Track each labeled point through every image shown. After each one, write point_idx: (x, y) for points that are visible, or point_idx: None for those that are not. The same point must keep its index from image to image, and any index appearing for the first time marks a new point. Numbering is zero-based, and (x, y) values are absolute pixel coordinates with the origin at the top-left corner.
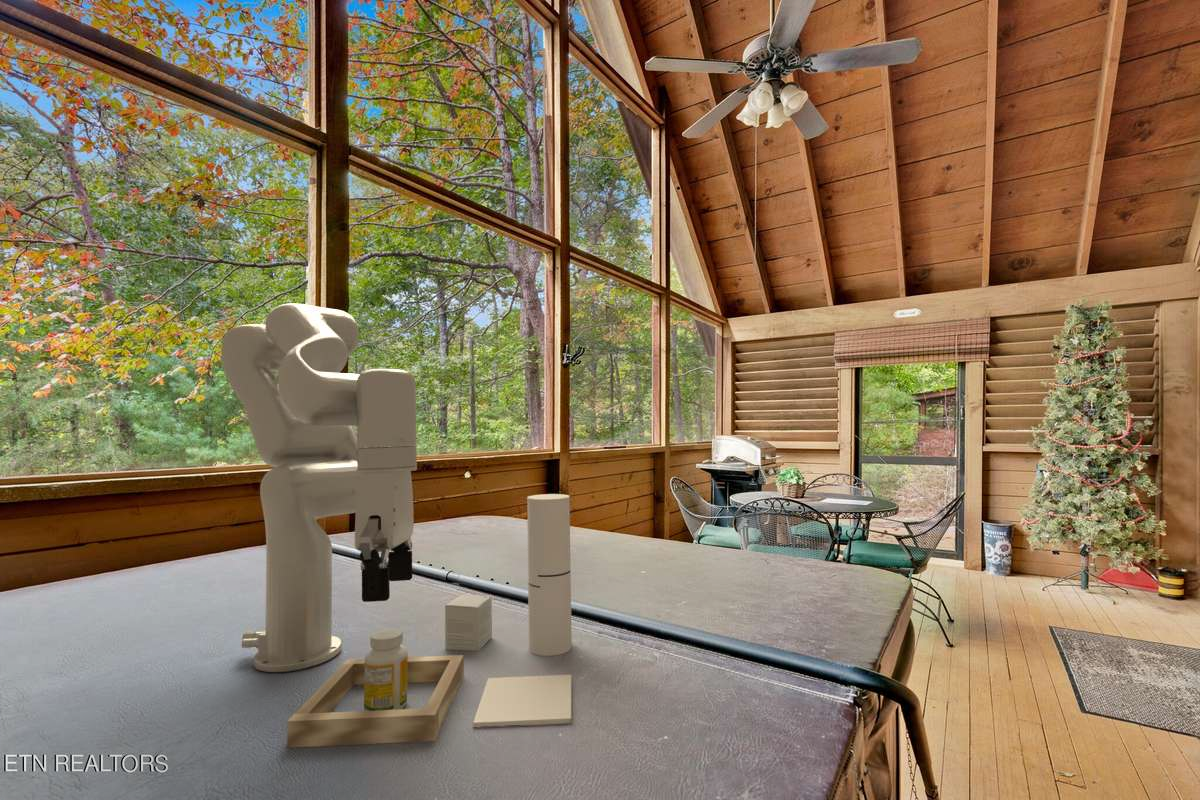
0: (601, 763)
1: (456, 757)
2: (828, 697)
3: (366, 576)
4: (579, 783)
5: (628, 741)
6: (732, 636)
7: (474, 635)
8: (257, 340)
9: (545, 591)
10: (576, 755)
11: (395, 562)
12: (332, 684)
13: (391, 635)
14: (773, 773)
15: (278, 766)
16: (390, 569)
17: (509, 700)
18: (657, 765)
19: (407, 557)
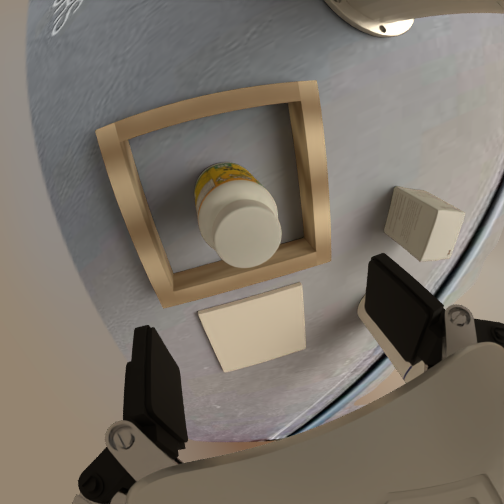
0: None
1: (146, 318)
2: (273, 435)
3: (123, 410)
4: None
5: (207, 396)
6: (360, 393)
7: (396, 237)
8: None
9: (396, 359)
10: (181, 381)
11: (402, 311)
12: (217, 109)
13: (240, 254)
14: (196, 432)
15: (74, 151)
16: (390, 282)
17: (249, 325)
18: (186, 408)
19: (401, 349)
